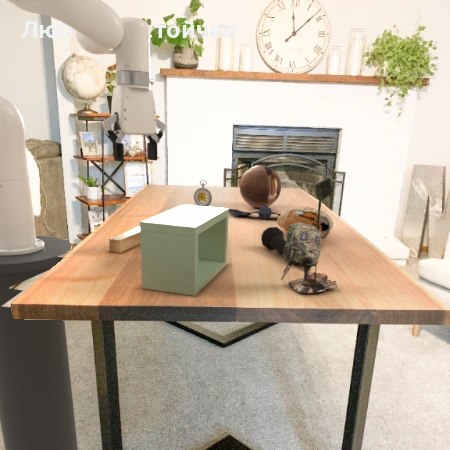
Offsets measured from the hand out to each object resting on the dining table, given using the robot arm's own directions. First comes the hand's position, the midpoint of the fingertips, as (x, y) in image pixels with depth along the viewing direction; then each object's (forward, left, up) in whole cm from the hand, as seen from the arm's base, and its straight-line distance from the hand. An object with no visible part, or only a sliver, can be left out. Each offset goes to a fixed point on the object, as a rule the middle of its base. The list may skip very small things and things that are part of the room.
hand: (136, 160), depth 107 cm
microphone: (+38, -3, -19) cm, 42 cm away
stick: (+2, -7, -19) cm, 20 cm away
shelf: (+23, -24, -19) cm, 38 cm away
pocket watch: (+2, +43, -19) cm, 47 cm away
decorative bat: (+25, +41, -19) cm, 52 cm away
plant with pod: (+46, -22, -19) cm, 54 cm away
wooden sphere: (+19, +60, -19) cm, 66 cm away
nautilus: (+41, +17, -19) cm, 48 cm away
